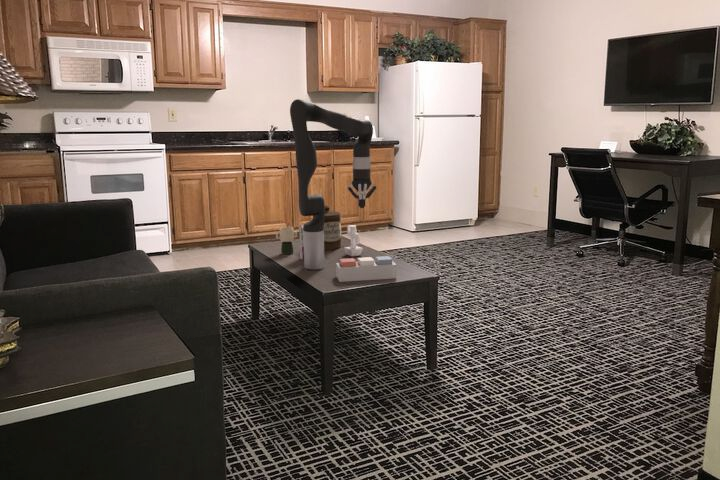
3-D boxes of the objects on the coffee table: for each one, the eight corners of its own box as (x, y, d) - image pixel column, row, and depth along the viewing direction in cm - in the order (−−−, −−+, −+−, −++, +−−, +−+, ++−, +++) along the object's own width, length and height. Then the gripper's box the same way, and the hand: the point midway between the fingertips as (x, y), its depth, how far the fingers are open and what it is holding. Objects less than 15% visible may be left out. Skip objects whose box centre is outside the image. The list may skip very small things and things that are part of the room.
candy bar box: (321, 256, 289) (320, 223, 286) (324, 258, 285) (323, 225, 281) (299, 258, 285) (298, 225, 282) (302, 260, 281) (301, 226, 277)
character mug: (296, 251, 301) (295, 226, 298) (299, 254, 294) (298, 228, 291) (275, 253, 297) (274, 227, 294) (278, 256, 290) (277, 230, 288)
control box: (336, 276, 252) (336, 262, 251) (391, 273, 257) (391, 259, 255) (339, 281, 244) (339, 267, 242) (396, 278, 248) (396, 264, 247)
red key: (339, 270, 250) (339, 258, 249) (353, 269, 252) (353, 258, 250) (342, 273, 245) (342, 262, 244) (356, 272, 246) (356, 261, 245)
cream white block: (357, 269, 252) (357, 257, 251) (371, 268, 253) (371, 257, 252) (360, 272, 246) (360, 261, 245) (374, 271, 247) (374, 260, 246)
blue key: (375, 268, 253) (375, 256, 252) (388, 267, 254) (388, 256, 253) (378, 271, 248) (378, 260, 247) (392, 270, 249) (392, 259, 248)
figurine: (352, 257, 285) (351, 227, 282) (342, 254, 293) (342, 224, 290) (364, 255, 289) (364, 226, 286) (355, 252, 297) (354, 223, 294)
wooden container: (320, 251, 300) (319, 208, 296) (309, 245, 313) (307, 205, 309) (346, 247, 307) (345, 206, 303) (334, 242, 320) (333, 202, 315)
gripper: (374, 166, 253) (374, 206, 257) (344, 167, 251) (345, 207, 254) (378, 167, 246) (378, 208, 250) (347, 168, 243) (348, 209, 247)
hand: (361, 207), depth 252 cm, fingers closed
